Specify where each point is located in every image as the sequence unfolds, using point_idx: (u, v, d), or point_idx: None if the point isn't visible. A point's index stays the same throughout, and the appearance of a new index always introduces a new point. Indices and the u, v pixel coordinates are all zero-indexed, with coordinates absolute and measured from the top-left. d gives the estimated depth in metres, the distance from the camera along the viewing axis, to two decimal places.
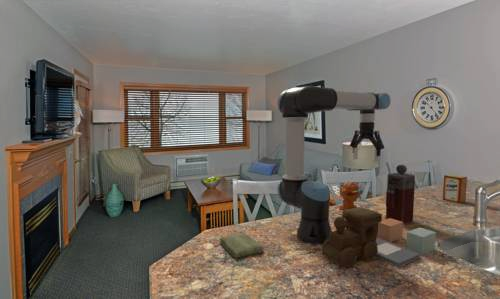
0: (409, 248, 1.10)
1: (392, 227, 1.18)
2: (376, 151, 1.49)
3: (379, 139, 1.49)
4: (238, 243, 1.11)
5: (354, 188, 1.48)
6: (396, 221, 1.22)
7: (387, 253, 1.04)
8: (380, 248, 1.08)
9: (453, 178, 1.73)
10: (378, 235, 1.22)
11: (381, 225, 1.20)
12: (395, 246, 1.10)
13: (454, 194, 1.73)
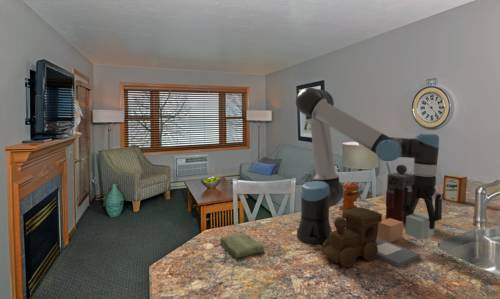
0: (408, 232, 1.10)
1: (392, 227, 1.18)
2: (429, 222, 1.06)
3: (439, 207, 1.04)
4: (239, 243, 1.11)
5: (354, 188, 1.48)
6: (396, 221, 1.22)
7: (387, 253, 1.04)
8: (380, 248, 1.08)
9: (453, 178, 1.73)
10: (378, 235, 1.22)
11: (381, 225, 1.20)
12: (395, 246, 1.10)
13: (454, 194, 1.73)
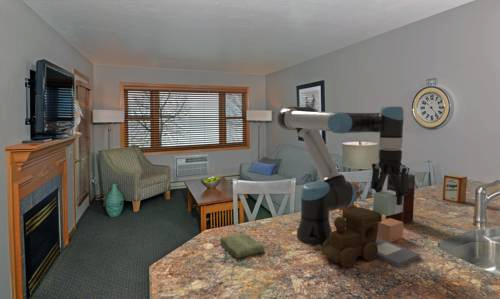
0: (376, 210, 1.06)
1: (392, 227, 1.18)
2: (396, 198, 1.02)
3: (405, 181, 1.00)
4: (239, 243, 1.11)
5: None
6: (396, 221, 1.22)
7: (387, 253, 1.04)
8: (380, 248, 1.08)
9: (453, 178, 1.73)
10: (378, 235, 1.22)
11: (381, 225, 1.20)
12: (395, 246, 1.10)
13: (454, 194, 1.73)
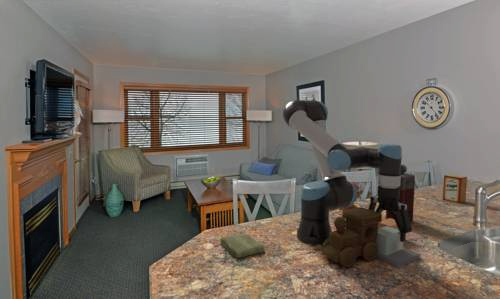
0: None
1: (392, 227, 1.18)
2: (399, 234, 1.02)
3: (406, 218, 1.00)
4: (239, 243, 1.11)
5: None
6: None
7: None
8: None
9: (453, 178, 1.73)
10: None
11: (381, 225, 1.20)
12: None
13: (454, 194, 1.73)
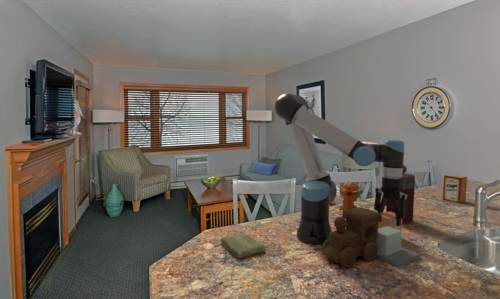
0: None
1: (391, 220, 1.18)
2: (396, 220, 1.18)
3: (404, 206, 1.15)
4: (240, 243, 1.11)
5: (354, 188, 1.48)
6: None
7: None
8: None
9: (453, 178, 1.73)
10: None
11: None
12: None
13: (454, 194, 1.73)
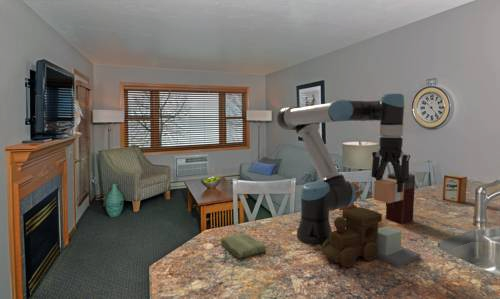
0: None
1: (392, 185, 1.02)
2: (397, 185, 1.02)
3: (406, 168, 1.00)
4: (240, 243, 1.11)
5: None
6: None
7: None
8: None
9: (453, 178, 1.73)
10: (375, 196, 1.06)
11: (379, 184, 1.05)
12: None
13: (454, 194, 1.73)
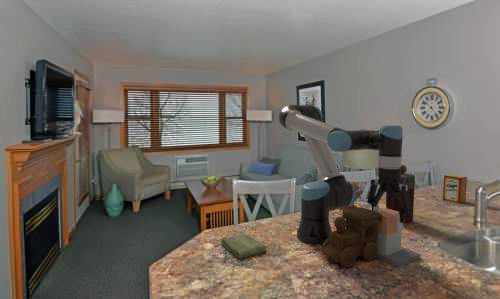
0: None
1: (390, 218, 1.03)
2: (399, 216, 1.02)
3: (407, 199, 1.00)
4: (241, 243, 1.11)
5: None
6: (394, 212, 1.07)
7: None
8: None
9: (453, 178, 1.73)
10: None
11: None
12: None
13: (454, 194, 1.73)
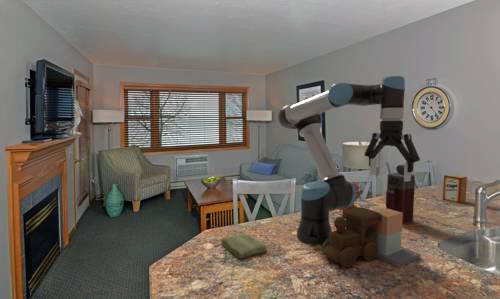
0: None
1: (390, 218, 1.03)
2: (407, 165, 0.98)
3: (412, 147, 0.97)
4: (241, 243, 1.11)
5: None
6: (394, 212, 1.07)
7: None
8: None
9: (453, 178, 1.73)
10: None
11: None
12: None
13: (454, 194, 1.73)
